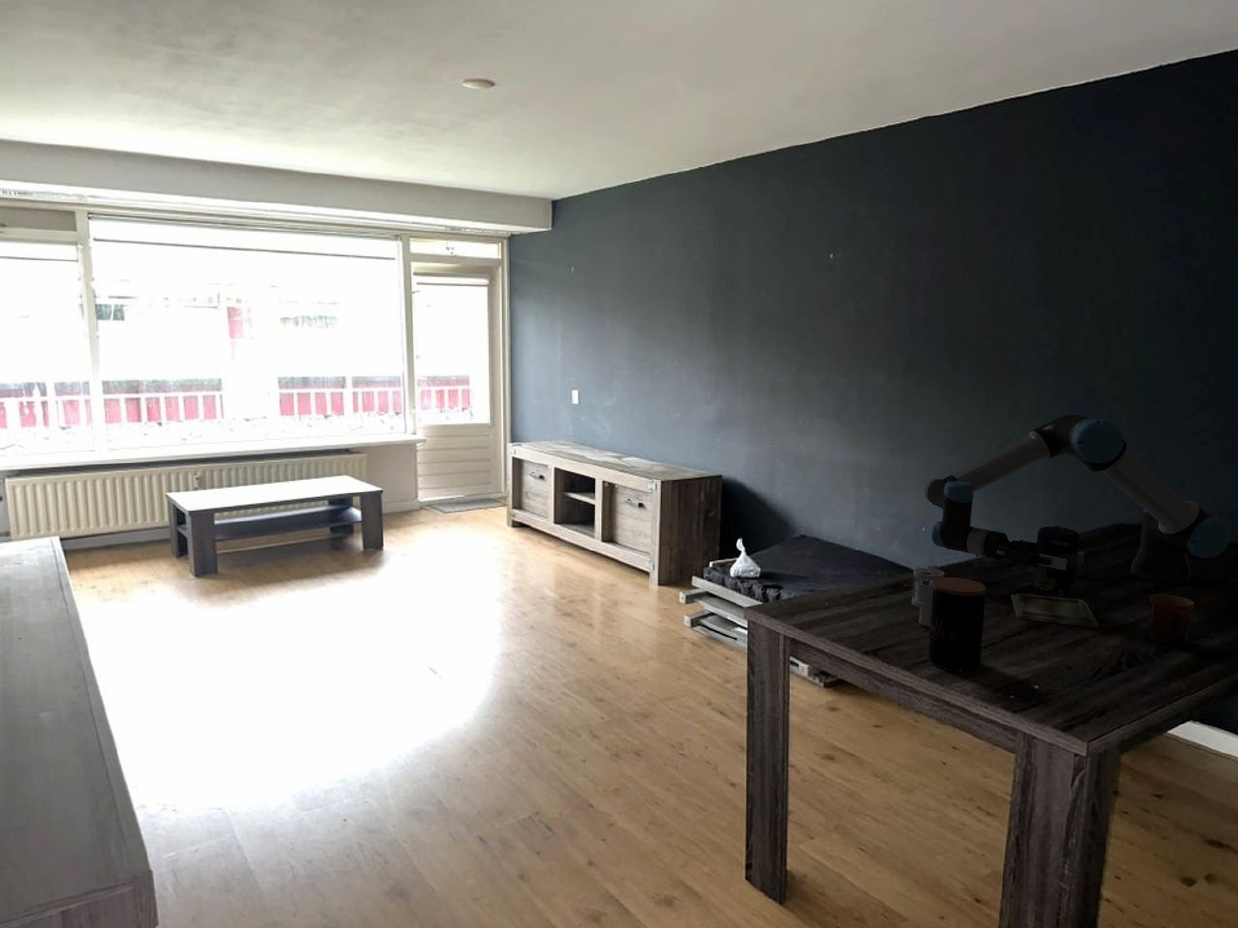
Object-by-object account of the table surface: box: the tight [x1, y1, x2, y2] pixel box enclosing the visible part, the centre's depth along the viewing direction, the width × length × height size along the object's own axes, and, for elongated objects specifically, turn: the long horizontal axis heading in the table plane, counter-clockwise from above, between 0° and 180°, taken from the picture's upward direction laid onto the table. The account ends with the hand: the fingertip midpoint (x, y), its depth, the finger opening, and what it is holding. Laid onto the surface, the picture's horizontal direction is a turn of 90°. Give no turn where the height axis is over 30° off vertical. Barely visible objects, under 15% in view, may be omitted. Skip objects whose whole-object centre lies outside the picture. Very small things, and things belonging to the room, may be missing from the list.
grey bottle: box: [911, 564, 945, 626], centre depth 202 cm, size 7×7×15 cm
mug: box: [1149, 593, 1196, 647], centre depth 191 cm, size 12×9×10 cm
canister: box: [1032, 525, 1080, 597], centre depth 212 cm, size 10×10×18 cm
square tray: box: [1011, 592, 1099, 629], centre depth 214 cm, size 18×18×2 cm
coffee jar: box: [927, 576, 987, 672], centre depth 179 cm, size 11×11×18 cm
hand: (1074, 561), depth 208 cm, fingers closed on canister, 9 cm apart
